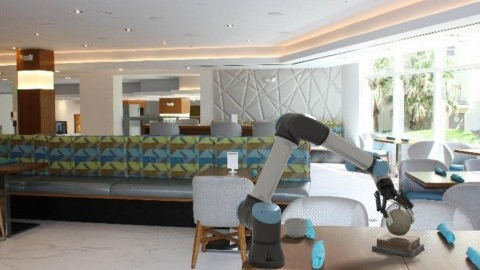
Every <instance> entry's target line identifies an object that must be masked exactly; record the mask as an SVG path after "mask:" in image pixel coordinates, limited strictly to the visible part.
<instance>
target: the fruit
mask: <svg viewBox="0 0 480 270" xmlns="http://www.w3.org/2000/svg"><path fill="white" fill-rule="evenodd" d="M388 201H389V202H391V203H393V204H395V205H397V206H398V208H395V209H392V210H390V211H389V214H390V216H391V218H392V220H393V223H392V225H391V226H389V224H388V222H387V219H386V218H385V226H386V228H387V230H388V233H389V232H390V233H392V234H393V235H397V236H402V235H407V234H408V233H409V231H410V229H411V226H412V224H411V219H410V216H409V214H408V213H407V212H405V211H406V210H403V209H401V207H402V206H403V205H401V204H399V203H397V202H396V201H394V200H388V199H387V202H388ZM403 207H405V206H403ZM403 207H402V208H403ZM405 208H407V209H409V208H408V207H405ZM409 210H410V209H409ZM411 210H412V209H411ZM411 210H410V211H411ZM411 212H412V213H413V214H414V212H413V210H412V211H411Z"/></svg>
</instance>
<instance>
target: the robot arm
mask: <svg viewBox="0 0 480 270" xmlns="http://www.w3.org/2000/svg"><path fill="white" fill-rule="evenodd" d="M274 123H275V124H274V135H273V140H274V143H273V145H272V147H271V150H270V152H269V154H268V157H267V159H266V160H265V163H264V165H263V168H262V170H261V172H260V174H259V176H258V179H257V181H256V182H255V185H254V187H253V190H252V191H251V192H248V193H246V197H245V199H243V200H241V201H239V203H238V205H237V207H236V210H235V216H236V219H237V221H238V222H239V223H240V224H241V225H242V227H244V228H246V229H248V230H250V231H251V232H252V234H251V235H252V236H251V237H252V238H251V239H252V240H251V246H250V249H249V252H248V255H247V263H248V264H249V265H250V266H253V267H255V268H261V269H273V268H274V269H275V268H278V267H282V266H284V265H285V264H286V256H285V253H284V249H283V246H282V218H283V217H282V209H281V208H280V206H278V205H277V204H276V203H273V202H272V197H273V195H274V194H275V191H276V189H277V186H278V185H279V181H280V180H281V177H282V175H283V173H284V171H285V168H286V166H287V164H288V161H289V159H290V158H291V154H292V152H293V151H294V150H295V149H297V148H298V147H299V146H300V143H301V142H302V141H303V142H306V143H310V144H313V145H314V146H316V147H322V148H324V149H326V150H328V151H330V152H332V153H333V154H335V155H337V156H338V157H340V158H341V159H344V160H345V162H344V167H345V170H346V171H347V172H351V173H359V174H360V173H361V174H365V175H370V176H371V178H372V179H373V182H374V184H375V187H376V190H375V191H374V193H373V195H374V197H375V206H376V212H379V213H380V214H382V216H383V218H384V219H385V220H386V219H387V222H388V224H389V226H391V225H392V223H393V220H392V218H391V216H390V214H389V212H390V211H389V210H388V209H387V203H388V200H390V201H393V202H396V203H398V204H401V205H403V206H405V207H407V208H409V209H410V210H411V211H412V212H413V210H412V209H413V208H414V205H415V204H413V203H412V202H411V200H410V199H409V198H408V197H407V196H406V194H405V193H404V191H403V189H402V188H400V189H398V190H397V189H396V188H395V184H394V182H393V180H392V178H391V176H390V174H389V171H390V166H389V163H388V161H386V160H383V159H382V157H381V156H380V154H379V153H378V152H375V151H373V152H366V150H364V149H362V148H361V147H359V146H357V145H356V144H353V143H352V142H350V141H349V140H348V139H345V138H344V137H342V136H340V135H339V134H337V133H335V132H333V130H331V127H330V126H328V125H327V124H325V123H324V122H323V121H320V120H319V119H318V118H315V117H314V116H312V115H310V114H307V113H303V112H302V113H301V112H300V113H299V112H287V113H286V112H285V113H283V114H280V116H279V117H277V119H276V121H275V122H274ZM381 197H382V198H381ZM381 199H382V202H381ZM387 199H388V200H387ZM403 206H401V207H402V208H403V209H405V210H404V211H405V212H407V213H408V214H409V216H410V219H411V225H413V224H414V223H416V219H415V216H414V212H413V213H412V212H411V211H410V210H409V209H407V208H405V207H403Z"/></svg>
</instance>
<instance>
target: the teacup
mask: <svg viewBox="0 0 480 270" xmlns="http://www.w3.org/2000/svg"><path fill="white" fill-rule="evenodd" d="M283 222H284V230H285V231H284V232H285V235H287V236H288V237H290V238H293V239H296V238H297V239H299V238H302V237H304V236H305V235H306V233H307V229H308V227H307V226H308V225H307V224H308V223H307V219H305V218H303V217H290V218H287V219H285V220H284V221H283Z"/></svg>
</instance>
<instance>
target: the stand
mask: <svg viewBox="0 0 480 270" xmlns="http://www.w3.org/2000/svg"><path fill="white" fill-rule="evenodd" d="M420 239H421V238H420V237H417V236H414V235H413V236H412V235H407V234H405V235H402V236H397V235H393V234H392V233H390V232H389V231H388V232H387V233H385V234H384V235H382V236H379V237H378V238H376V243H374V244H373V245H372V246H371V251H375V252H380V253H384V254H390V255H396V256H399V257H400V256H401V257H405V258H412V257H413V256H415V255H417V254H418V253H419V252H421V251H422V250H424V249H425V243H420Z"/></svg>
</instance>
